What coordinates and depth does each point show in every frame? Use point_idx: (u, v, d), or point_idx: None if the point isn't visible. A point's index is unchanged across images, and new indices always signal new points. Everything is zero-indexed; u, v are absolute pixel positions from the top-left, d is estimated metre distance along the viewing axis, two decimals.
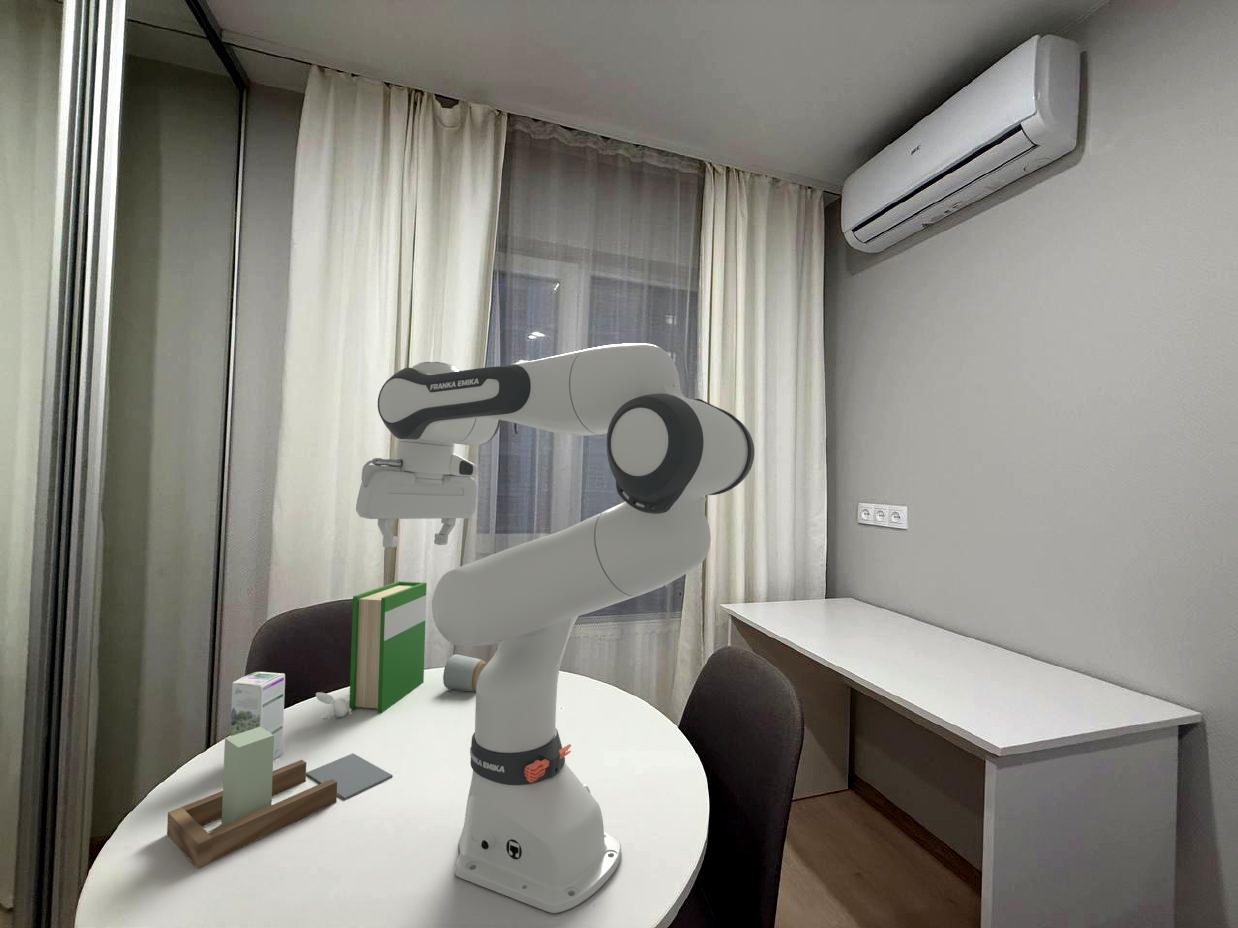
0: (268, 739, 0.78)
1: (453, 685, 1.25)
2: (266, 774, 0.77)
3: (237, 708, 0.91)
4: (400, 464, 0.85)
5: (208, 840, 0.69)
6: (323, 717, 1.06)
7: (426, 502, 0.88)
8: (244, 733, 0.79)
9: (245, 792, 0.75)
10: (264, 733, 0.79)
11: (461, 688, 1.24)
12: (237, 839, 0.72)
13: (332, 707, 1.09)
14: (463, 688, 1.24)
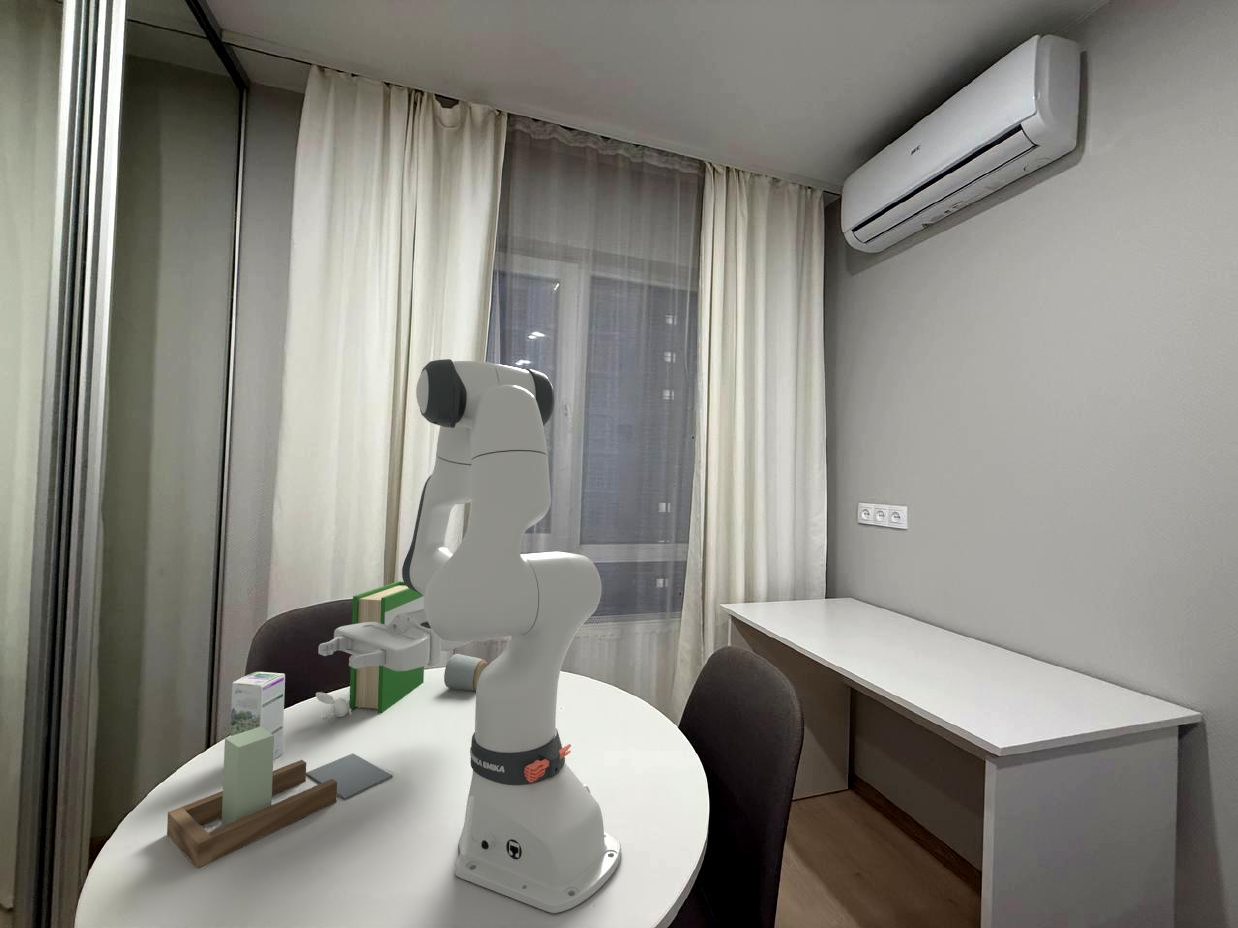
0: (268, 739, 0.78)
1: (454, 685, 1.25)
2: (266, 774, 0.77)
3: (237, 708, 0.91)
4: None
5: (208, 840, 0.69)
6: (323, 717, 1.06)
7: (377, 634, 0.94)
8: (244, 733, 0.79)
9: (245, 792, 0.75)
10: (264, 733, 0.79)
11: (462, 687, 1.25)
12: (237, 839, 0.72)
13: (332, 707, 1.09)
14: (464, 687, 1.25)
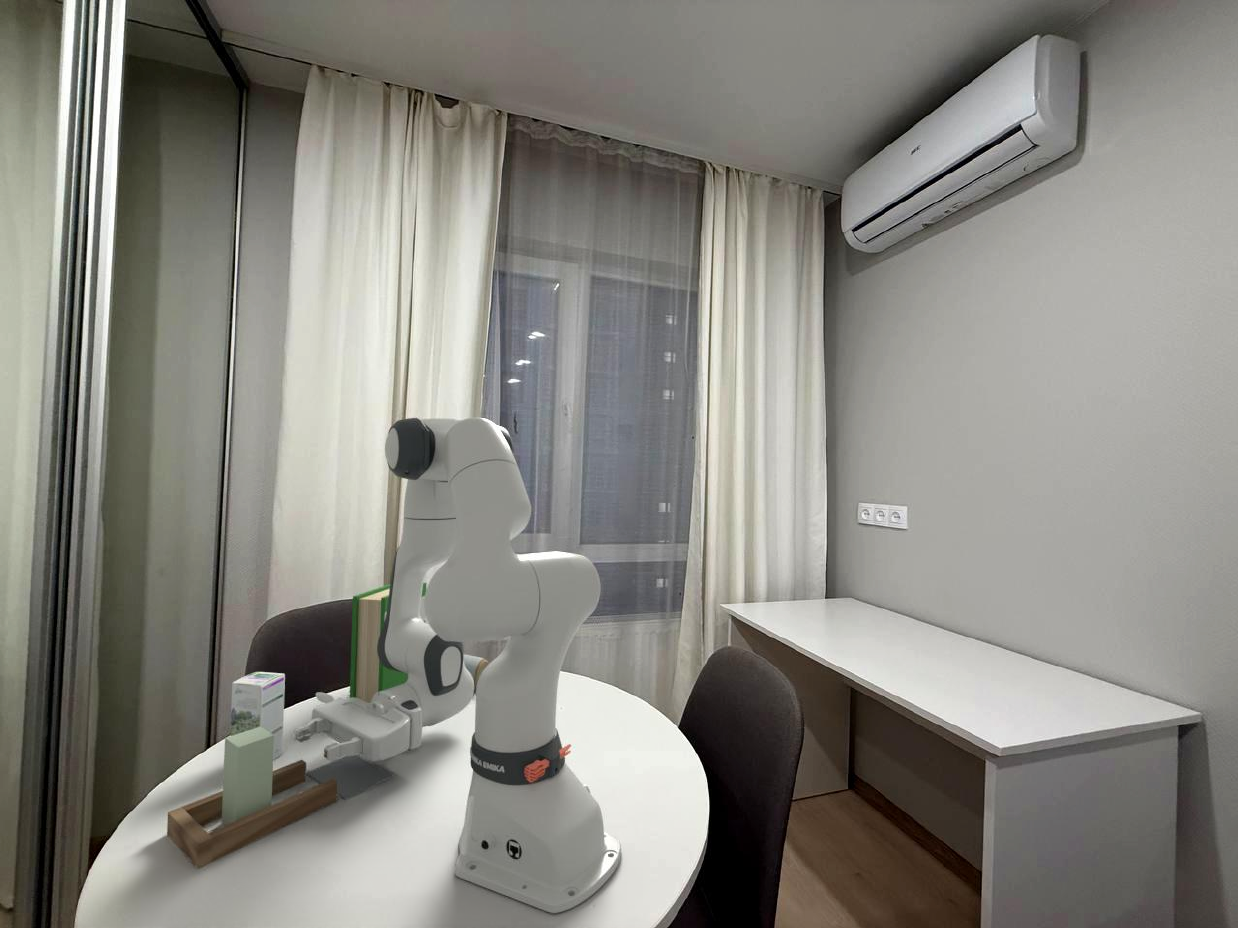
0: (268, 739, 0.78)
1: None
2: (266, 774, 0.77)
3: (237, 708, 0.91)
4: None
5: (208, 840, 0.69)
6: None
7: (356, 716, 0.91)
8: (244, 733, 0.79)
9: (245, 792, 0.75)
10: (264, 733, 0.79)
11: None
12: (237, 839, 0.72)
13: None
14: None
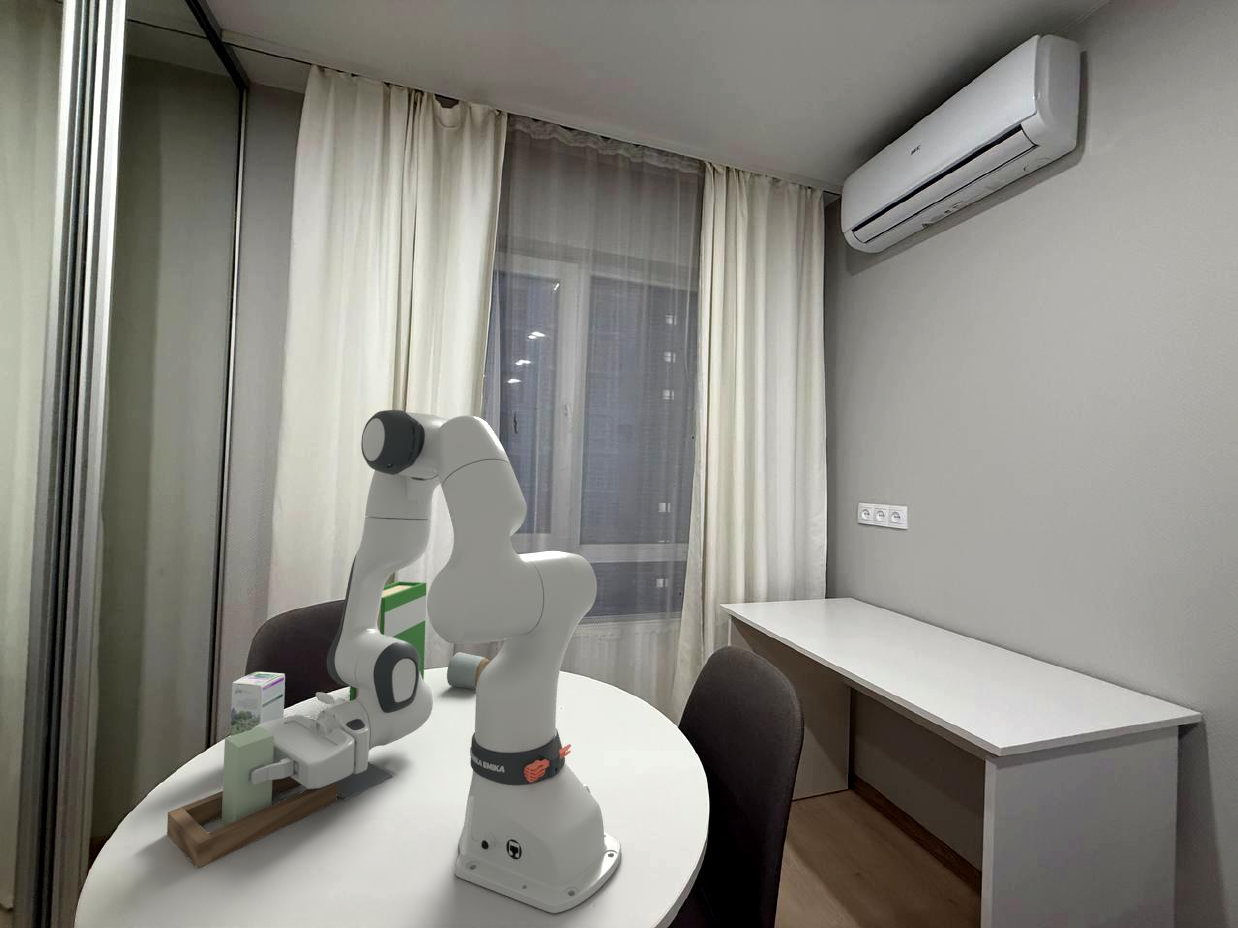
0: (268, 739, 0.78)
1: (456, 683, 1.26)
2: None
3: (237, 708, 0.91)
4: None
5: (208, 840, 0.69)
6: None
7: (296, 737, 0.83)
8: (244, 733, 0.79)
9: (245, 792, 0.75)
10: (264, 733, 0.79)
11: (464, 686, 1.26)
12: (237, 839, 0.72)
13: None
14: (466, 686, 1.26)
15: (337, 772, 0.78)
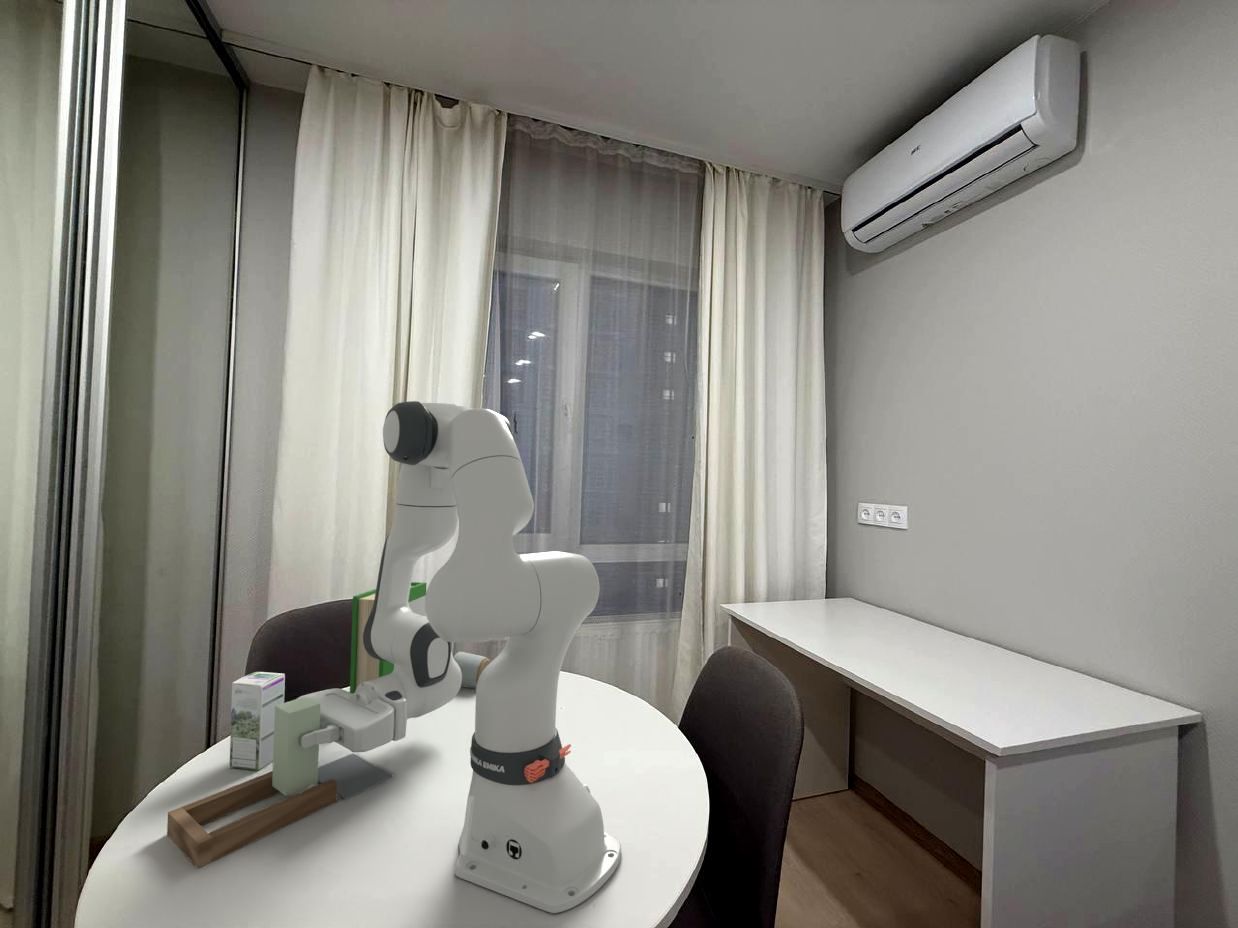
0: (315, 707, 0.83)
1: None
2: None
3: (237, 708, 0.91)
4: None
5: (208, 840, 0.69)
6: None
7: (338, 707, 0.88)
8: (292, 701, 0.84)
9: (295, 756, 0.81)
10: (311, 701, 0.84)
11: (466, 685, 1.26)
12: (237, 839, 0.72)
13: None
14: (468, 685, 1.26)
15: (380, 738, 0.84)
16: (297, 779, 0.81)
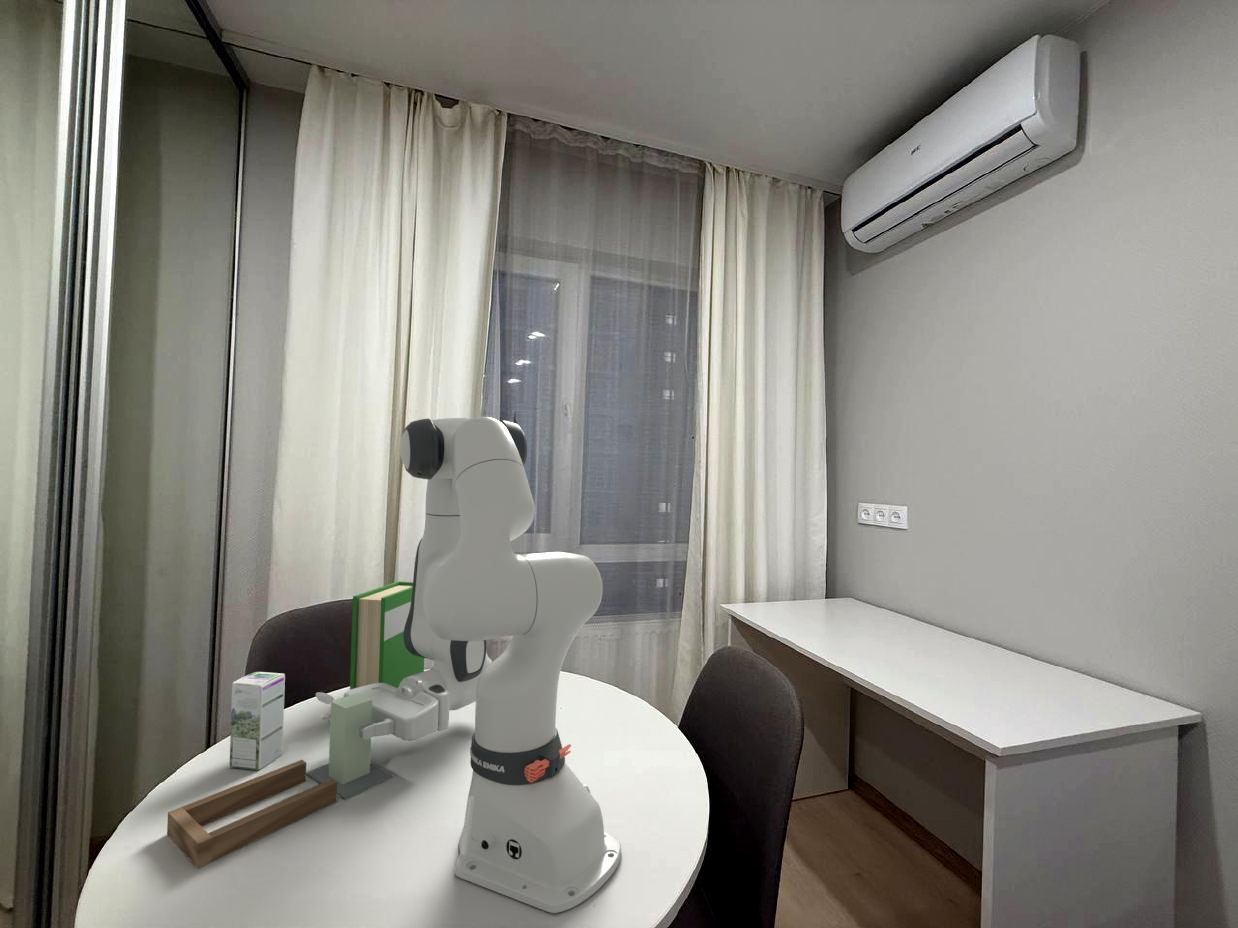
0: (368, 703, 0.90)
1: None
2: None
3: (237, 708, 0.91)
4: None
5: (208, 840, 0.69)
6: (323, 717, 1.06)
7: (386, 699, 0.95)
8: (346, 698, 0.91)
9: (351, 747, 0.88)
10: (363, 698, 0.91)
11: None
12: (237, 839, 0.72)
13: None
14: None
15: (427, 727, 0.90)
16: (352, 769, 0.88)
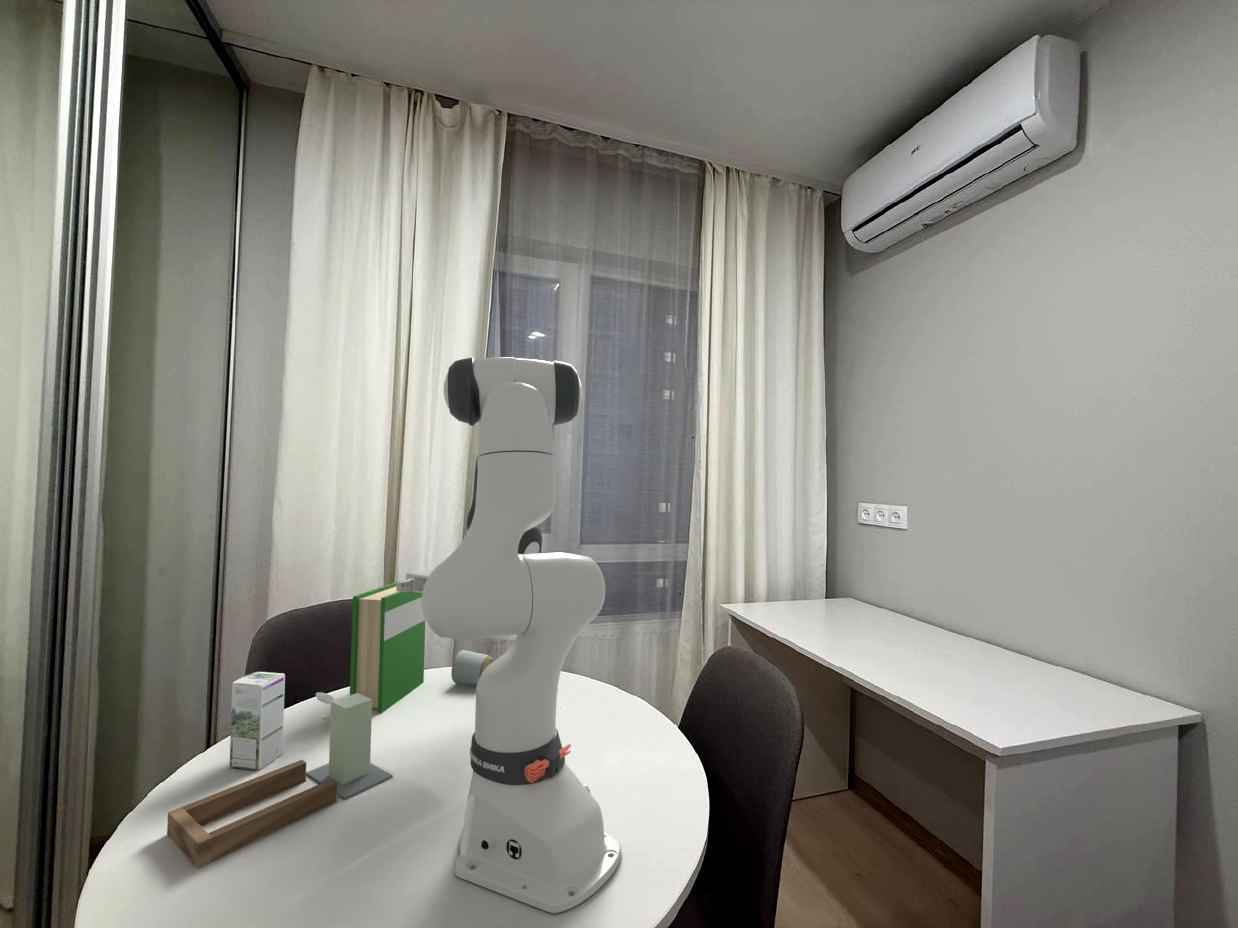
0: (368, 703, 0.90)
1: (461, 680, 1.28)
2: (366, 732, 0.90)
3: (237, 708, 0.91)
4: None
5: (208, 840, 0.69)
6: (323, 717, 1.06)
7: None
8: (346, 698, 0.91)
9: (351, 747, 0.88)
10: (363, 698, 0.91)
11: (469, 683, 1.28)
12: (237, 839, 0.72)
13: None
14: (471, 683, 1.28)
15: None
16: (352, 769, 0.88)
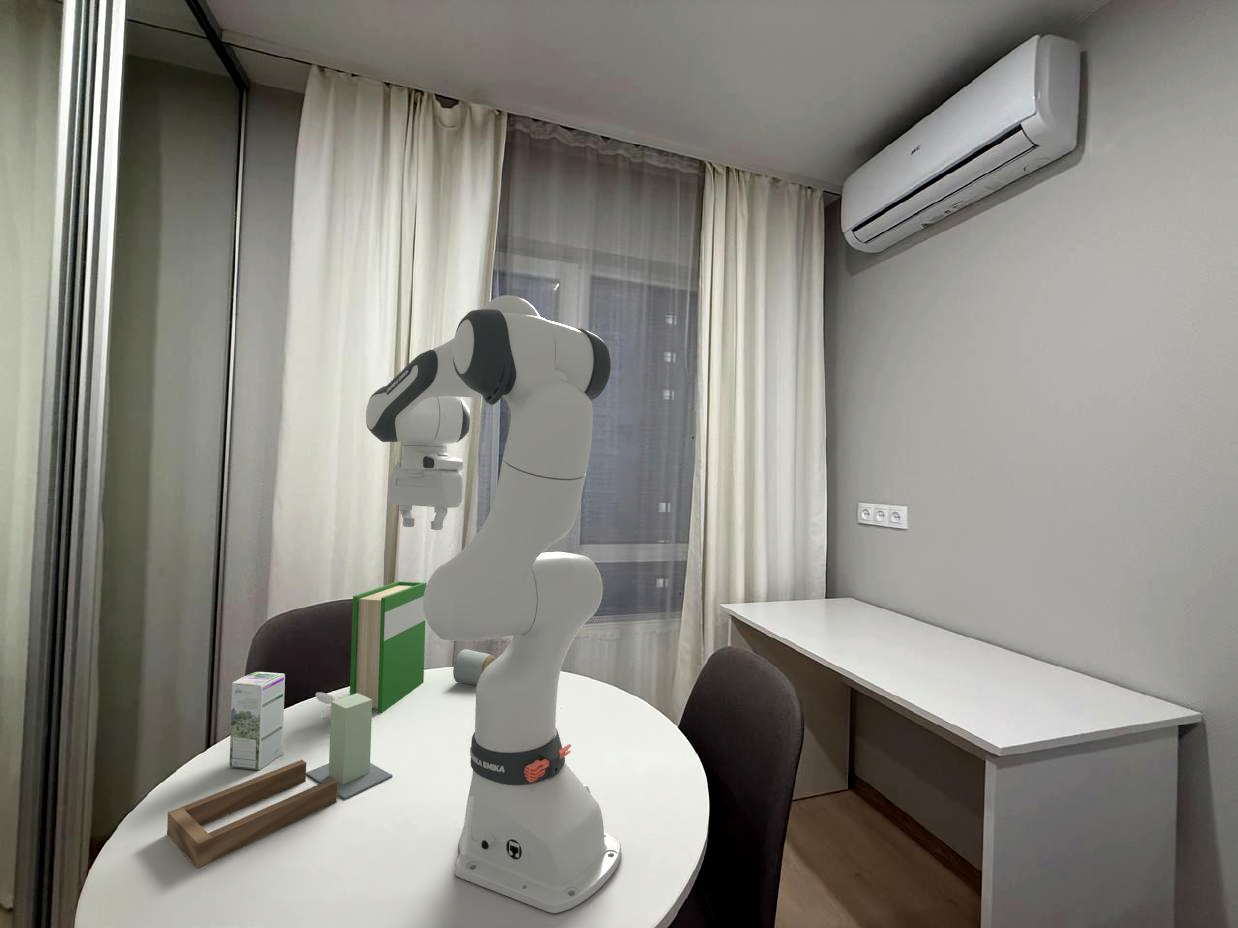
0: (368, 703, 0.90)
1: (462, 679, 1.29)
2: (366, 732, 0.90)
3: (237, 708, 0.91)
4: None
5: (208, 840, 0.69)
6: (323, 717, 1.06)
7: (415, 492, 1.10)
8: (346, 698, 0.91)
9: (351, 747, 0.88)
10: (363, 698, 0.91)
11: (470, 682, 1.28)
12: (237, 839, 0.72)
13: None
14: (472, 682, 1.28)
15: (457, 488, 1.07)
16: (352, 769, 0.88)
